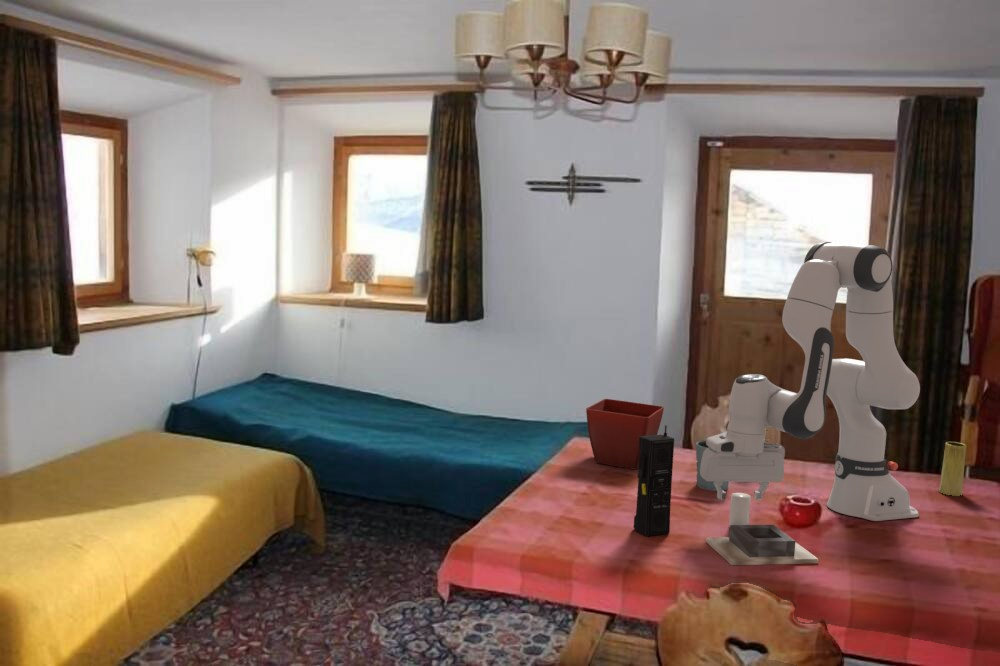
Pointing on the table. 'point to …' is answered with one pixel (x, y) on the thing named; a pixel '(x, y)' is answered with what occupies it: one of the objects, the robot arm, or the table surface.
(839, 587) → the table surface
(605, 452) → the plant pot
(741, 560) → the end holder
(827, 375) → the robot arm
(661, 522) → the portable radio
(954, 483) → the vase
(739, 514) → the connector plug
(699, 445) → the teal cup
